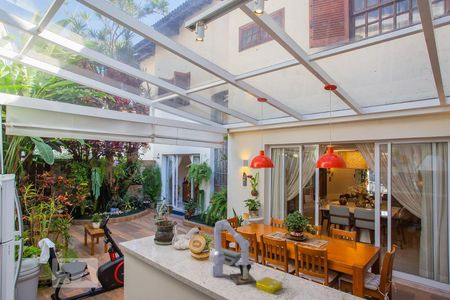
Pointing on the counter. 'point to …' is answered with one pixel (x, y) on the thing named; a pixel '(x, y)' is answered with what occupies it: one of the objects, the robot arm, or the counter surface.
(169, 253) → the counter surface
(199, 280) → the counter surface
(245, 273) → the steel peg
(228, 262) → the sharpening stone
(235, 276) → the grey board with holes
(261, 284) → the element tile
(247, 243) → the robot arm
